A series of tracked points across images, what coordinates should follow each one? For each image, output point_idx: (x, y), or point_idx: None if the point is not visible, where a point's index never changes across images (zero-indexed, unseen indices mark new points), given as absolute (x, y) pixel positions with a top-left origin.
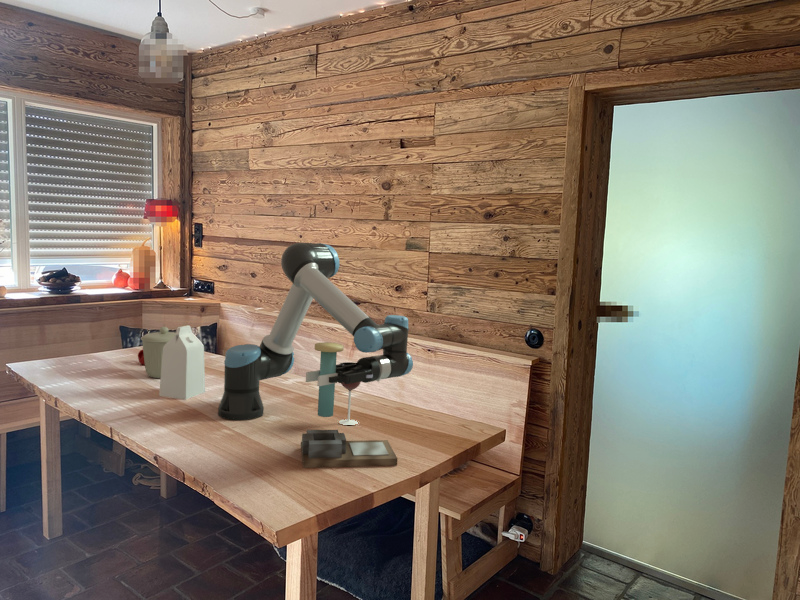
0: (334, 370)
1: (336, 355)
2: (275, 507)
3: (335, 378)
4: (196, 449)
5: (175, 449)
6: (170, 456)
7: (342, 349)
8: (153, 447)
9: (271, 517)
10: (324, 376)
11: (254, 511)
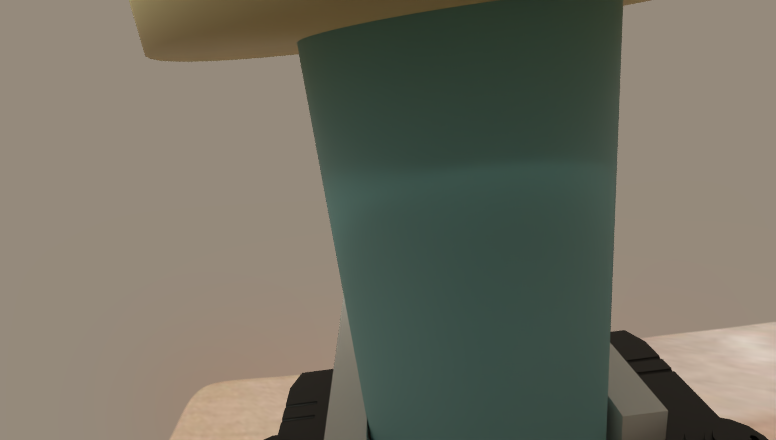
0: (361, 389)
1: (351, 169)
2: (262, 414)
3: (285, 426)
4: (749, 395)
5: (750, 359)
6: (684, 342)
7: (134, 11)
8: (771, 330)
9: (239, 393)
10: (342, 314)
11: (286, 381)
